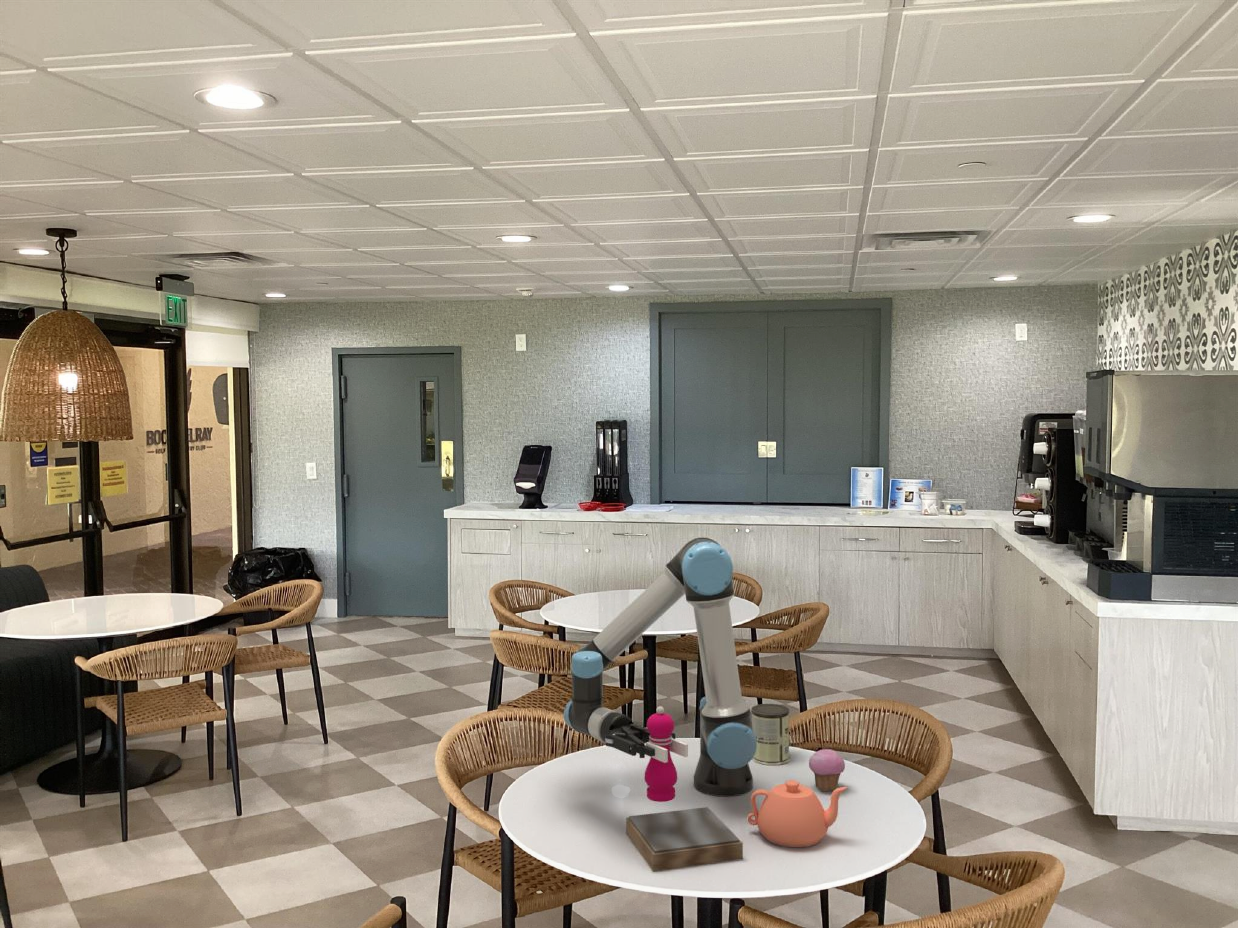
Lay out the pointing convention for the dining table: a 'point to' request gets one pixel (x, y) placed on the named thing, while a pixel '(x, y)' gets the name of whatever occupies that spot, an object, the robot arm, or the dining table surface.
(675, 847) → the walnut stand
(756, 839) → the dining table surface
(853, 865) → the dining table surface
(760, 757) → the coffee can
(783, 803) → the teapot
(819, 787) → the cupcake
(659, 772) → the pepper mill
